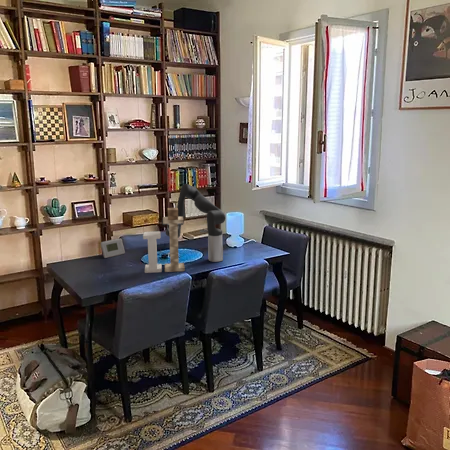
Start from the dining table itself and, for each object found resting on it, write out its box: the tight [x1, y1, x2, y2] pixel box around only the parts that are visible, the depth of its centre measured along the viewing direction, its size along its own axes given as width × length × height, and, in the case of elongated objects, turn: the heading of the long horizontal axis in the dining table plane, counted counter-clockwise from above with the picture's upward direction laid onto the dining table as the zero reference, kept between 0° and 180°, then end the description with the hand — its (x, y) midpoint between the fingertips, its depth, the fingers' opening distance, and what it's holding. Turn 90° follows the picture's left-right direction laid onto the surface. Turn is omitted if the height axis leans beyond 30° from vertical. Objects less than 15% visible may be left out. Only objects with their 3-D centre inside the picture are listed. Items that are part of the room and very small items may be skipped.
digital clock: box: [100, 238, 126, 259], centre depth 314 cm, size 16×9×11 cm, turn 123°
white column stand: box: [142, 231, 163, 274], centre depth 282 cm, size 10×10×23 cm
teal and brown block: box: [167, 207, 178, 220], centre depth 284 cm, size 6×20×6 cm, turn 7°
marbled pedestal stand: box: [162, 216, 186, 273], centre depth 283 cm, size 12×10×32 cm
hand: (172, 218), depth 299 cm, fingers open, 8 cm apart
